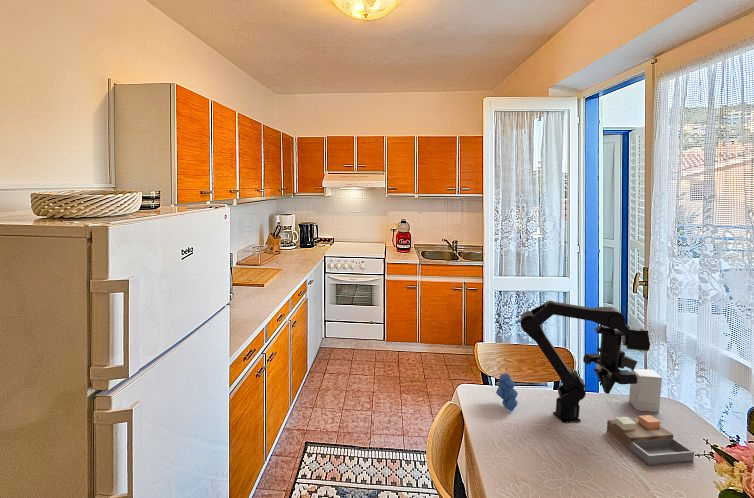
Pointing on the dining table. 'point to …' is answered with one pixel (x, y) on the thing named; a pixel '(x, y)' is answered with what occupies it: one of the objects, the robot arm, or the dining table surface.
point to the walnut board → (636, 433)
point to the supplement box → (646, 390)
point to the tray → (661, 451)
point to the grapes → (507, 391)
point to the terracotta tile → (649, 421)
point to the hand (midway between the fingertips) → (606, 393)
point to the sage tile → (625, 423)
